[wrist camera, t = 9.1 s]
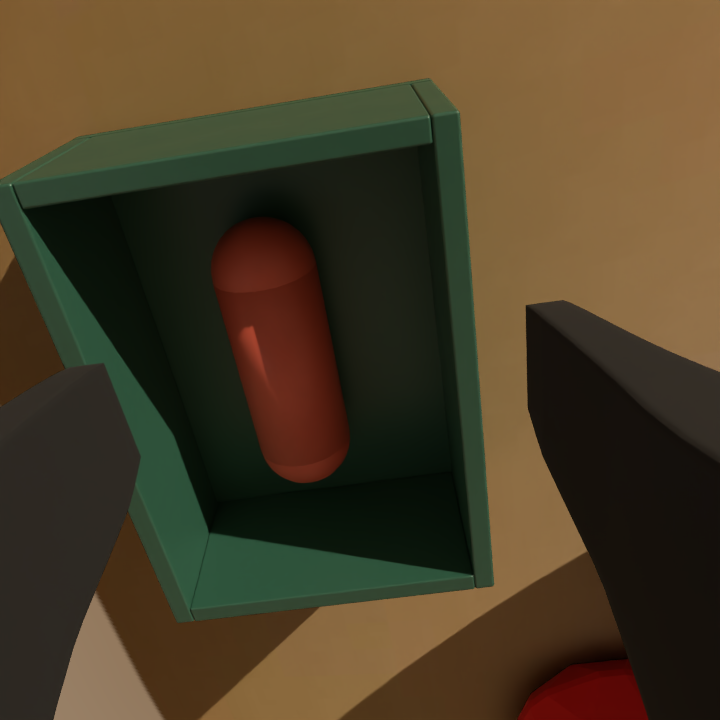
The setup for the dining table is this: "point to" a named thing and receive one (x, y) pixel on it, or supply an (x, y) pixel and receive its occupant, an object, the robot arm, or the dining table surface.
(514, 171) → the dining table surface
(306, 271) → the red capsule pill
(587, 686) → the gemstone
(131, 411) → the bin
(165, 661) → the dining table surface
